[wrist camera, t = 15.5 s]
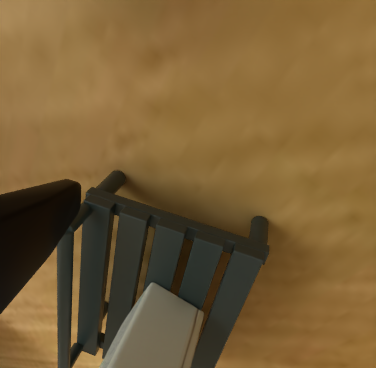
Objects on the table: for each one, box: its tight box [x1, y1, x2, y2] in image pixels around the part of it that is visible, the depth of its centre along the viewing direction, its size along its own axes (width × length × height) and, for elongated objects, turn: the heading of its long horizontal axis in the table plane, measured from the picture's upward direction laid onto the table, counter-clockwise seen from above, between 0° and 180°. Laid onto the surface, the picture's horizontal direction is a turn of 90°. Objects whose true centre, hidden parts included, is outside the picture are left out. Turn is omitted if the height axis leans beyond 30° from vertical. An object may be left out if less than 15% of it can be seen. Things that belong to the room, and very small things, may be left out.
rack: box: [57, 171, 269, 368], centre depth 24 cm, size 12×16×7 cm
